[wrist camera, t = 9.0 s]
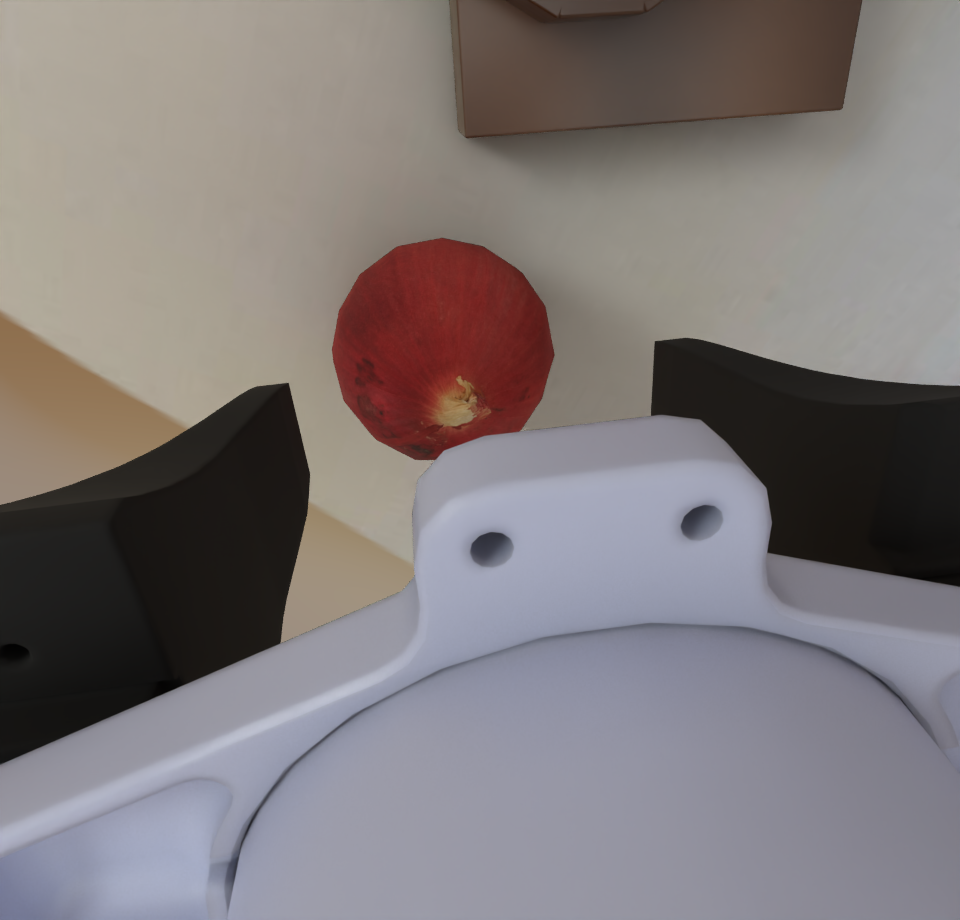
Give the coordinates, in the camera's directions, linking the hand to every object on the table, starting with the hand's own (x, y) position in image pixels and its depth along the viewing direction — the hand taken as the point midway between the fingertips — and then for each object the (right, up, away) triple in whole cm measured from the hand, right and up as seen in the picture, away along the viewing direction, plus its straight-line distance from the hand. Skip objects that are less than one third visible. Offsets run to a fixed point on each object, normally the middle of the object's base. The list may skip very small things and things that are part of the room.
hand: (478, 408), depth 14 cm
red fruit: (-1, +4, +8) cm, 9 cm away
